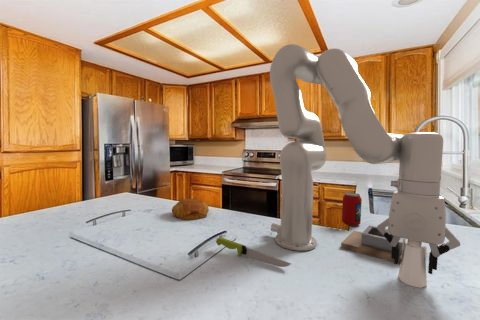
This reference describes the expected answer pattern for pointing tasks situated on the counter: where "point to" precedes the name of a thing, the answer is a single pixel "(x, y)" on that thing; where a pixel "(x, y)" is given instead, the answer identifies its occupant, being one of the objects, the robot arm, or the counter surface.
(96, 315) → the counter surface
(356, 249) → the walnut board
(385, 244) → the metal socket
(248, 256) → the kitchen knife
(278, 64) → the robot arm
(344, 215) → the beverage can
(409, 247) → the salt shaker
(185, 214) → the round bread loaf
